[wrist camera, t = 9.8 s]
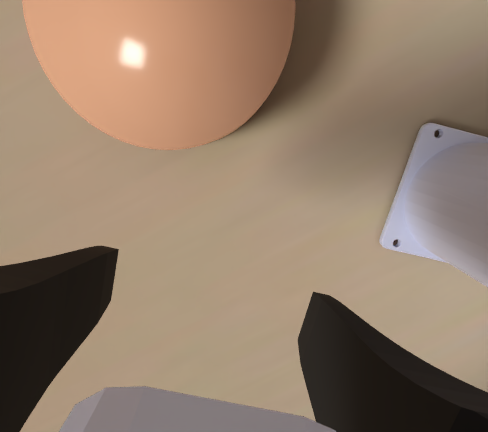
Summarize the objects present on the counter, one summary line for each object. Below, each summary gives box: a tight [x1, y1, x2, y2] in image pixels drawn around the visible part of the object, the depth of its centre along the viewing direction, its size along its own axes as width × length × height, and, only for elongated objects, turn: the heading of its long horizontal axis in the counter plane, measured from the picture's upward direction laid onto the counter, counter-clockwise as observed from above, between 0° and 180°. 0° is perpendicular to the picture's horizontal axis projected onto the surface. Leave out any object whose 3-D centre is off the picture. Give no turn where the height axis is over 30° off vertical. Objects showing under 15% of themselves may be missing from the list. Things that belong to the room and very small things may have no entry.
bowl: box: [22, 0, 295, 150], centre depth 16 cm, size 12×12×4 cm
